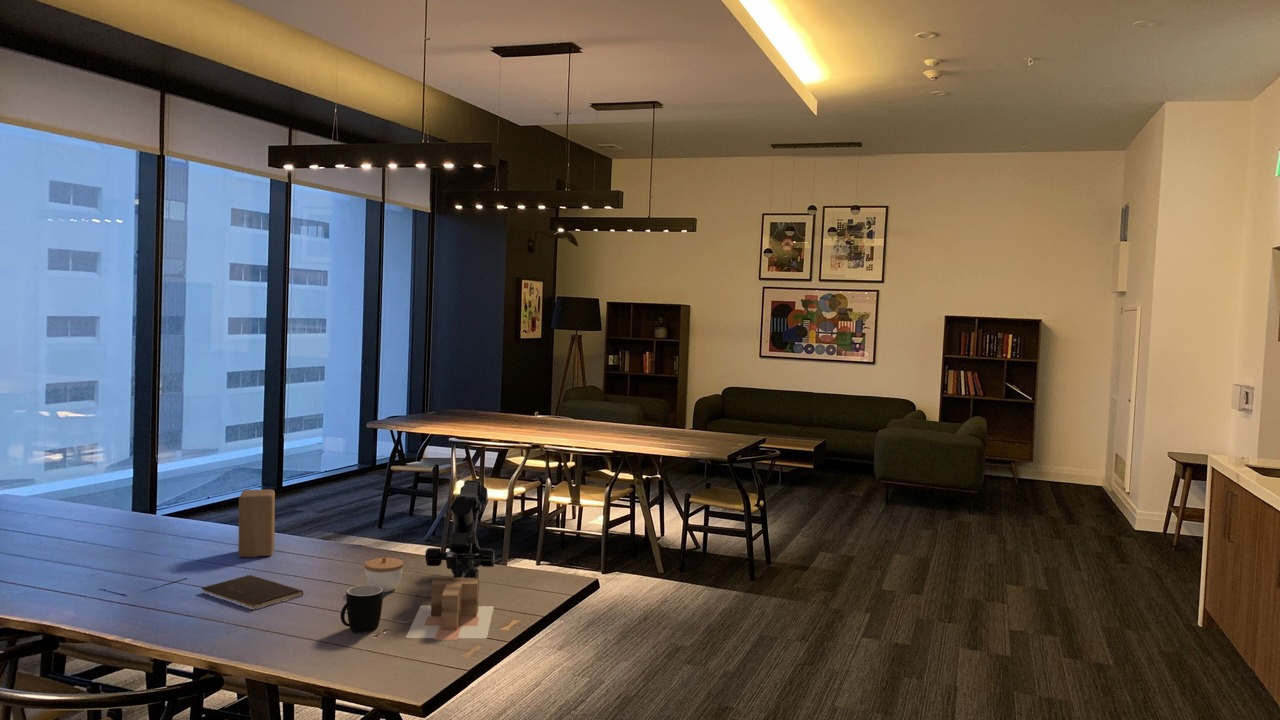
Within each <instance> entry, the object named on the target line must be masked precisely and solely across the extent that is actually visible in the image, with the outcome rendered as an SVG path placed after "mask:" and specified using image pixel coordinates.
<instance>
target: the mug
mask: <svg viewBox="0 0 1280 720" xmlns="http://www.w3.org/2000/svg"><path fill="white" fill-rule="evenodd" d="M345 595H346V597H345V598H346V599H345V601H346V603H344V605H343V607H342V609H341V611H340V621H341V623H342V624H343V626H346V627H349V628H350V630H351V631H352V632H353V633H356V634H364V633H369V632H373V631H375V630H377V629H378V627H379V624H380V621H381V617H382V616H381V615H382V609H383V602H384V601H383V600H384V599H383V598H384V592H383V589H382V588H381V587H380V586H376V585H368V584H361V585H360V584H359V585H355V586H351V587H349V588H348V589H346V594H345ZM346 613H347V621H348V622H346V619H345V616H346Z"/></svg>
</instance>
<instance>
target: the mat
mask: <svg viewBox="0 0 1280 720" xmlns="http://www.w3.org/2000/svg"><path fill="white" fill-rule="evenodd" d="M494 607H495V606H493V605H490V606H489V605H488V606H485V605H478V613H477V617H461V619H460V622H459V625H458V628H457V630H441V616H431V605H420V606H419V608H418V611H417V613H416V614H415V617H414V619H413V622H412V623H411V626H410V628H409V630H408V632H407V635H405V638H406V639H434V641H458V639H487V638H488V634H489V629H490V625H491V623H492V622H491V620H492V617H493V613H494Z"/></svg>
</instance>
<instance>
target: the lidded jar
mask: <svg viewBox="0 0 1280 720" xmlns="http://www.w3.org/2000/svg"><path fill="white" fill-rule="evenodd" d="M403 567H404V561H403V560H402V559H399V558H393V557H386V556H383V557H379V558H373V559H370V560H367V561H366V562H364V575H365V580H366V582H367V585H376V586H380V587H381V588H382V589H383V593H389V592H392V591H394V590H395V588H396V587H397V586H398V585H399V584H400V582H401V581H402V577H403Z"/></svg>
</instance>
